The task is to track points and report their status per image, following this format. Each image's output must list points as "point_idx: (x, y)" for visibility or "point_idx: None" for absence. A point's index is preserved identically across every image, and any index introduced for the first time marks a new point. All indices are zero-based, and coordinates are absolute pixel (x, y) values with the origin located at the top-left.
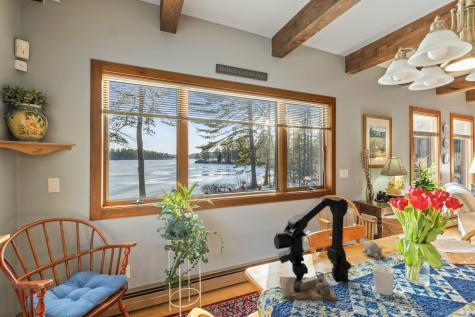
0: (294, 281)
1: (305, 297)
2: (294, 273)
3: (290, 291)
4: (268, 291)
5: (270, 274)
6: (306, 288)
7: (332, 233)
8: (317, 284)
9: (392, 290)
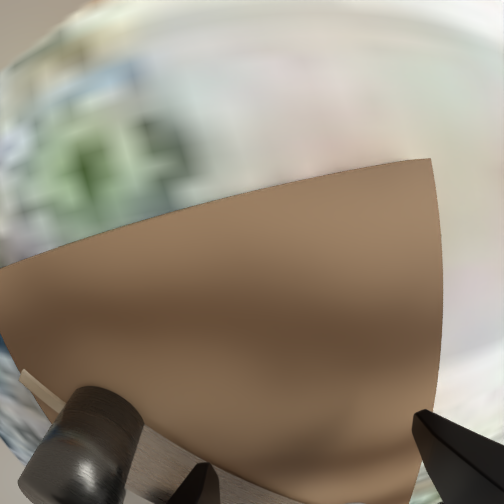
0: (20, 478)
1: None
2: (432, 417)
3: (66, 349)
4: (56, 71)
5: (465, 53)
6: None
7: None
8: None
9: None
